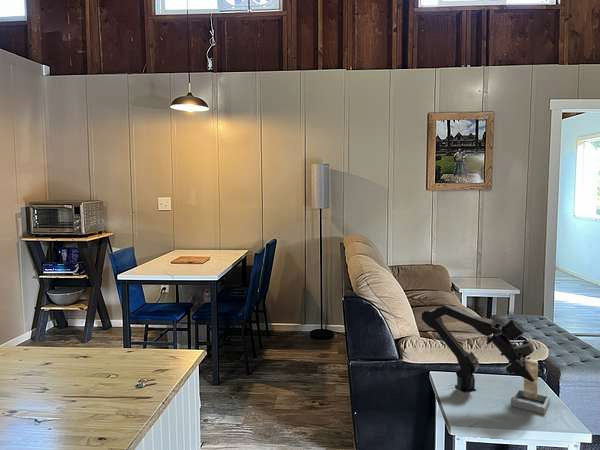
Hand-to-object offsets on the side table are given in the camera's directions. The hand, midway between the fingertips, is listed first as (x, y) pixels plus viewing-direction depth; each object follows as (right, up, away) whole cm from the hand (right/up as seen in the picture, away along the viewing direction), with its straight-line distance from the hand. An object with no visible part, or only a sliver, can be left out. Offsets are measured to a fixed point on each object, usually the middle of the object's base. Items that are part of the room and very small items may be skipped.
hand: (534, 379), depth 179 cm
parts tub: (-1, -11, +2) cm, 11 cm away
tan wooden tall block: (-1, -7, +1) cm, 7 cm away
